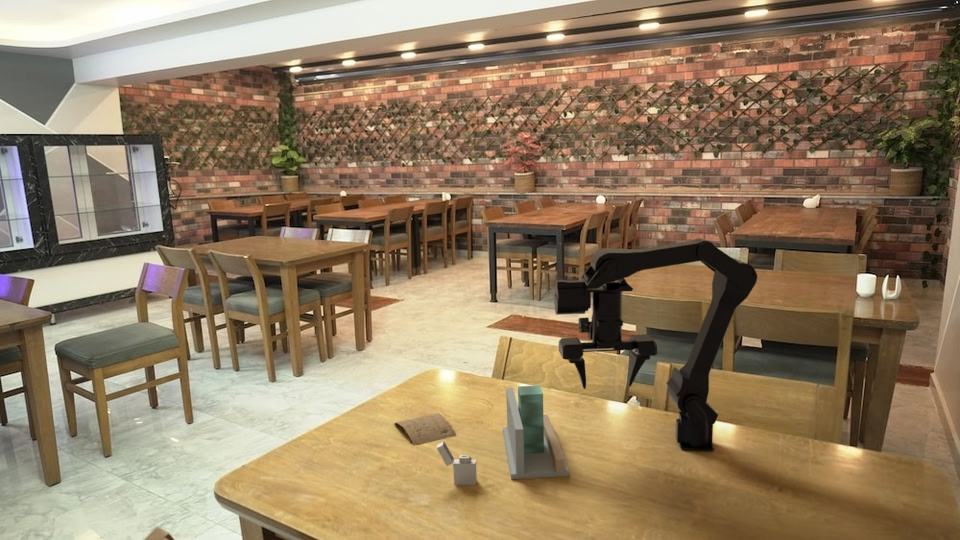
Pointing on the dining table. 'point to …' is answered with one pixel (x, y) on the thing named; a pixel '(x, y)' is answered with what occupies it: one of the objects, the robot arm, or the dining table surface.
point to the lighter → (459, 466)
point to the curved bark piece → (427, 429)
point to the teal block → (531, 418)
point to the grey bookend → (531, 463)
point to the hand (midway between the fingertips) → (606, 387)
